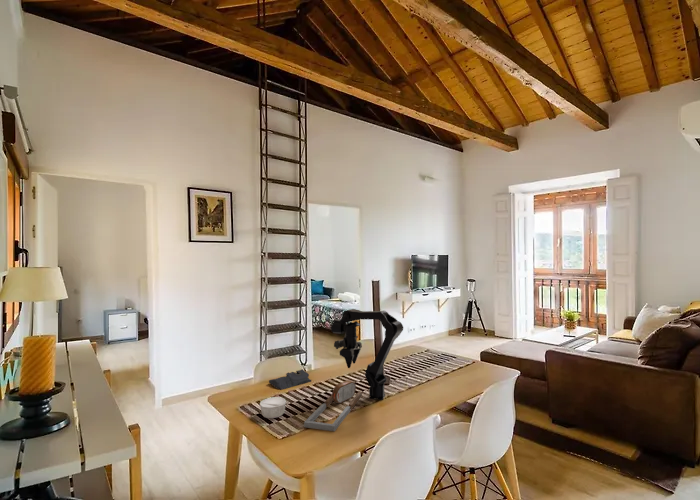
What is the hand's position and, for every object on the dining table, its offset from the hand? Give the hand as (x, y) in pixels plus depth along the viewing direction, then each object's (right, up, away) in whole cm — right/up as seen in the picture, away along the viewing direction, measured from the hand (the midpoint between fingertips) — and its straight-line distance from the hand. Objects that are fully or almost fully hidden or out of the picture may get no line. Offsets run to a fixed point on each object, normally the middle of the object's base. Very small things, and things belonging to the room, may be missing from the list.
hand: (351, 365), depth 189 cm
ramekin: (-34, -13, -25) cm, 45 cm away
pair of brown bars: (-4, -13, -12) cm, 18 cm away
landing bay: (-10, -13, -30) cm, 34 cm away
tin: (-3, -13, -11) cm, 18 cm away
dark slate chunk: (-33, -14, +15) cm, 39 cm away
